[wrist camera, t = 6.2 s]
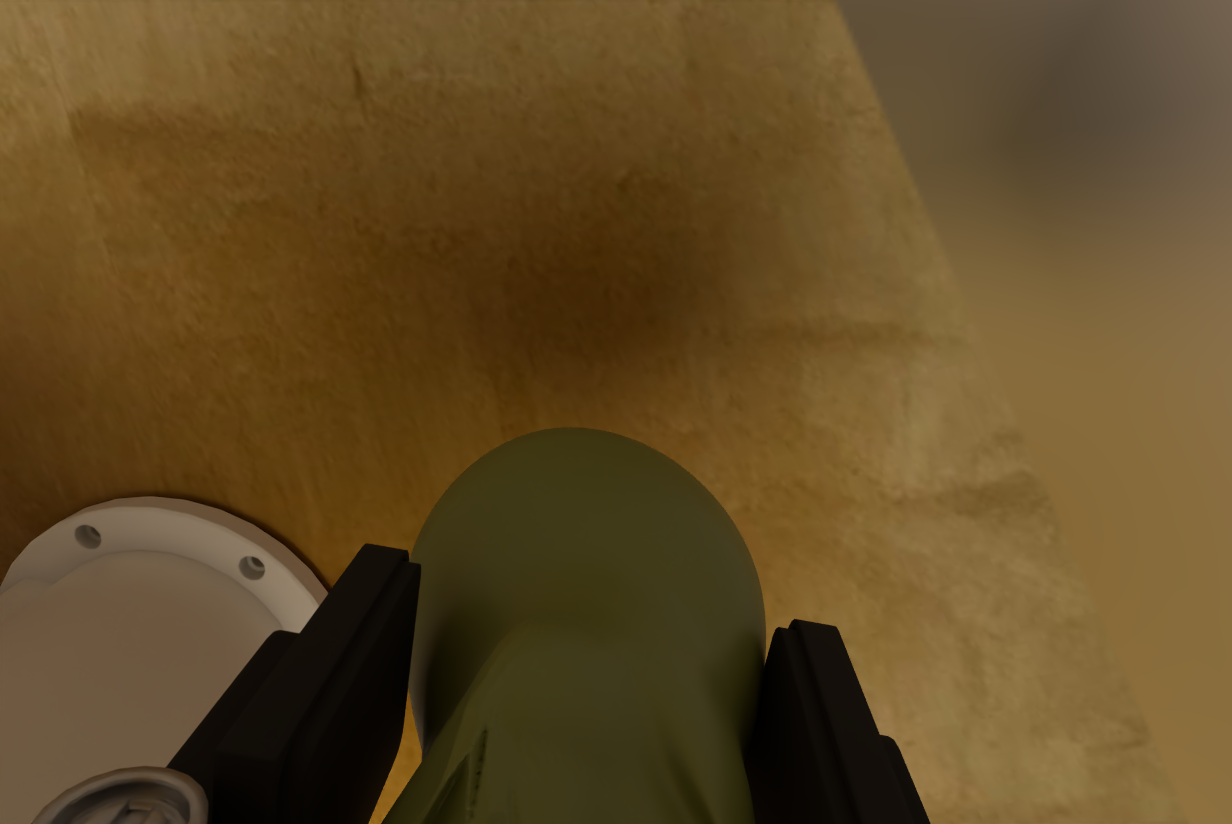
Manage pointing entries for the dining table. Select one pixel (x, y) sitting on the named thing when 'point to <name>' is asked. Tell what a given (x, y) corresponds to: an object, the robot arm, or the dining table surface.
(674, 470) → the pear
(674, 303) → the dining table surface
